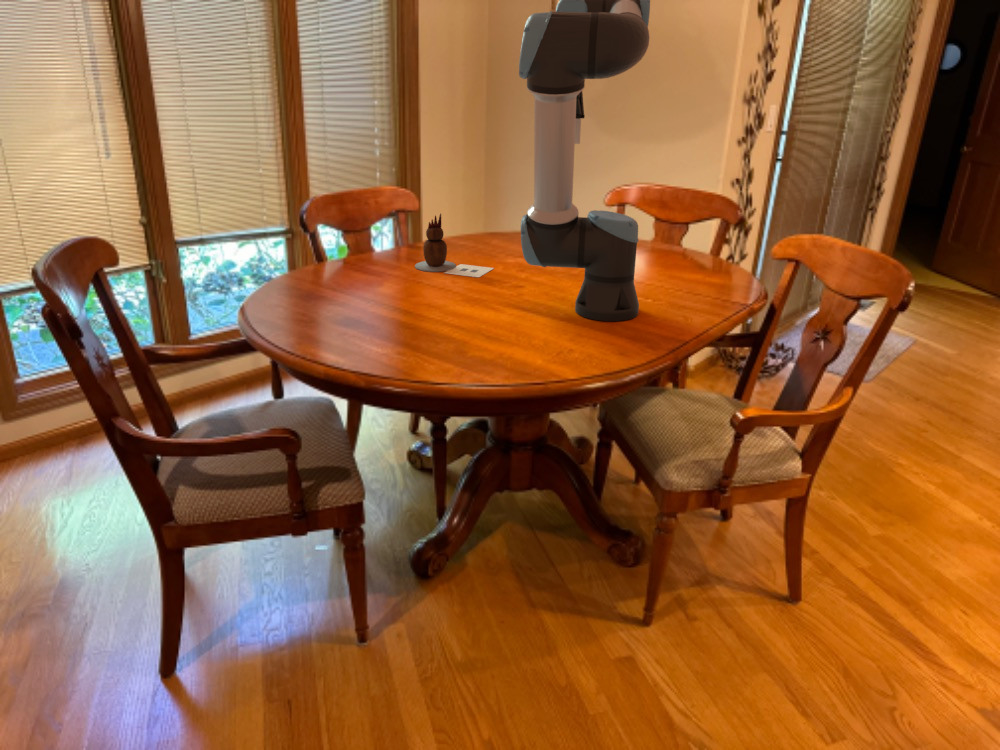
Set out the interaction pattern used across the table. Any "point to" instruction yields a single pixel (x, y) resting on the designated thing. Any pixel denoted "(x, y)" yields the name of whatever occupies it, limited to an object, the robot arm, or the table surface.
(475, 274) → the white card
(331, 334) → the table surface
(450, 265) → the coaster
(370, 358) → the table surface
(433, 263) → the wooden figurine
